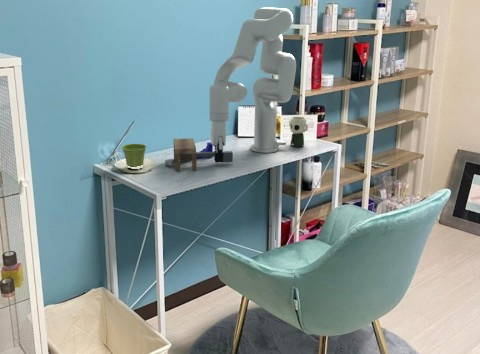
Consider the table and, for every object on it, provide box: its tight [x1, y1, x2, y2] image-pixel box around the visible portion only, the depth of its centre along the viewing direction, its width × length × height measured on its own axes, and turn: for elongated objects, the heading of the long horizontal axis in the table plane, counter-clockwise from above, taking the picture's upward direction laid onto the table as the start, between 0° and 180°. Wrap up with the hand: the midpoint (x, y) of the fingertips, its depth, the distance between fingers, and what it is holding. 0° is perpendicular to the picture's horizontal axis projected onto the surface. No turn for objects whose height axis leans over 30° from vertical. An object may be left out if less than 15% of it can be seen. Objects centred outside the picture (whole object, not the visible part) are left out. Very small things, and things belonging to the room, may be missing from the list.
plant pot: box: [121, 143, 147, 167], centre depth 213 cm, size 9×9×9 cm
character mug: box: [288, 115, 309, 147], centre depth 247 cm, size 11×7×13 cm, turn 43°
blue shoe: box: [196, 141, 214, 160], centre depth 229 cm, size 12×4×6 cm, turn 109°
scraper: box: [179, 150, 234, 166], centre depth 219 cm, size 22×5×4 cm, turn 99°
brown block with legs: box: [172, 137, 197, 172], centre depth 217 cm, size 8×15×9 cm, turn 9°
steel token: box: [164, 158, 175, 169], centre depth 218 cm, size 5×5×2 cm
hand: (218, 160), depth 220 cm, fingers closed on scraper, 2 cm apart
